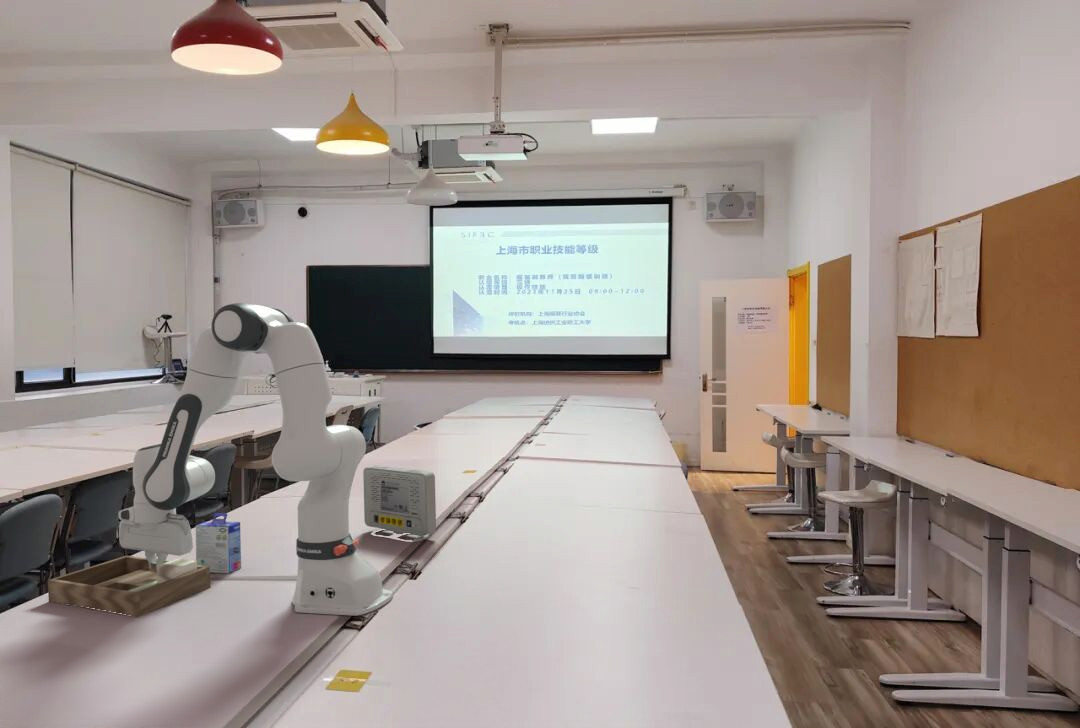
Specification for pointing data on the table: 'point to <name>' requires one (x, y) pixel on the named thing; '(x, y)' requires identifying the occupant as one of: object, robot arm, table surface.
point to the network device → (400, 500)
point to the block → (175, 569)
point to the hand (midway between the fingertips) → (156, 569)
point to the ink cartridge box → (219, 545)
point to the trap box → (125, 586)
